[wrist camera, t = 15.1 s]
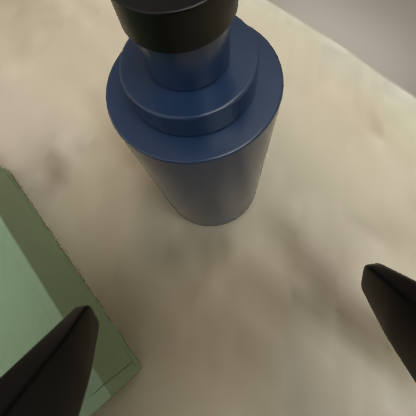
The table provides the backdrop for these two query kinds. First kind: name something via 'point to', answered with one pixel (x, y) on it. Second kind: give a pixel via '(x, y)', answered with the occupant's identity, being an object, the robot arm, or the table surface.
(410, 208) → the table surface
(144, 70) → the bottle
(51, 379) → the robot arm
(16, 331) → the bin
